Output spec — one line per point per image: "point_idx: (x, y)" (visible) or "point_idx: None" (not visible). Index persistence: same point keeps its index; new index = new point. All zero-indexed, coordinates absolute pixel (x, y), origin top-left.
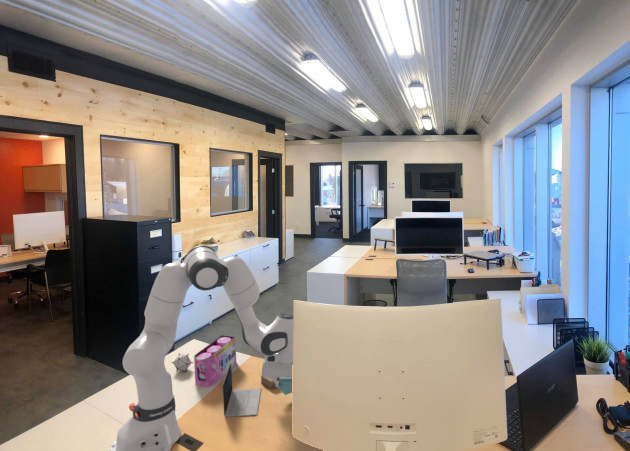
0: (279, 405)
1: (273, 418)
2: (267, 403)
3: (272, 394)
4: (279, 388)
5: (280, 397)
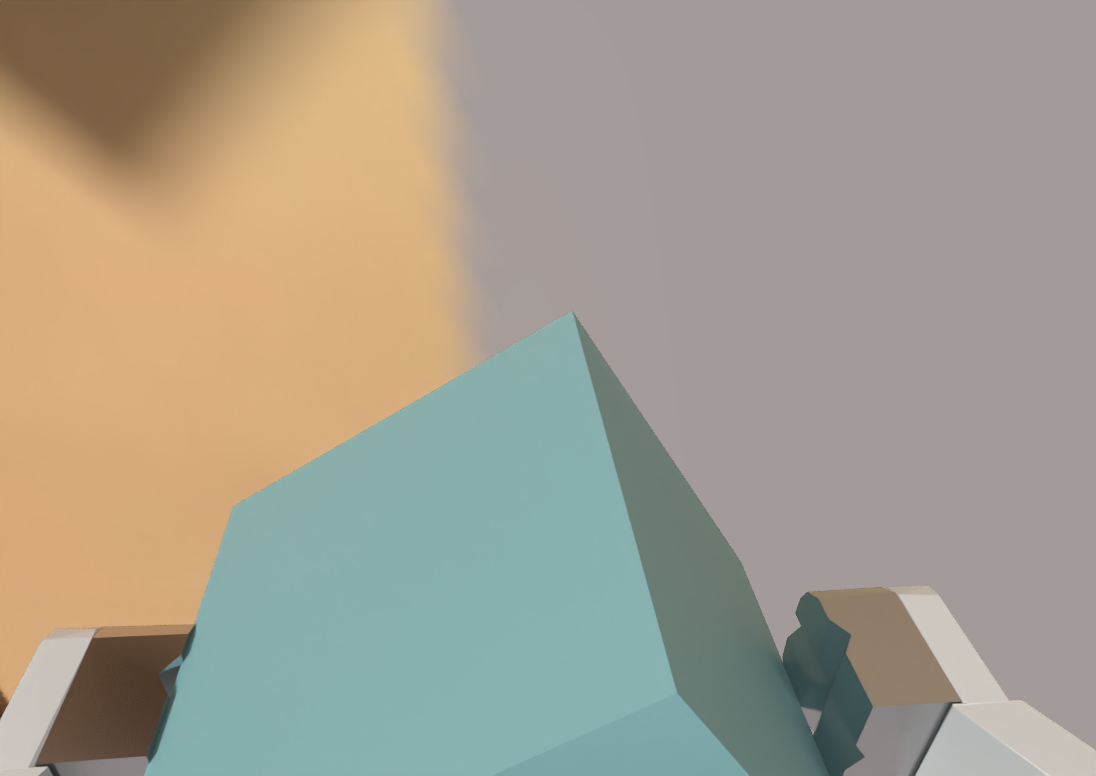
0: None
1: None
2: (62, 495)
3: (25, 165)
4: (234, 536)
5: (298, 304)
